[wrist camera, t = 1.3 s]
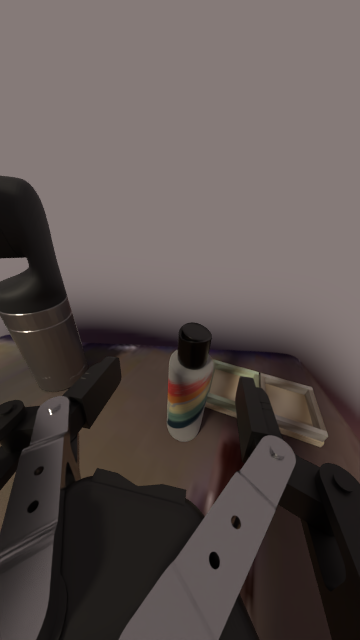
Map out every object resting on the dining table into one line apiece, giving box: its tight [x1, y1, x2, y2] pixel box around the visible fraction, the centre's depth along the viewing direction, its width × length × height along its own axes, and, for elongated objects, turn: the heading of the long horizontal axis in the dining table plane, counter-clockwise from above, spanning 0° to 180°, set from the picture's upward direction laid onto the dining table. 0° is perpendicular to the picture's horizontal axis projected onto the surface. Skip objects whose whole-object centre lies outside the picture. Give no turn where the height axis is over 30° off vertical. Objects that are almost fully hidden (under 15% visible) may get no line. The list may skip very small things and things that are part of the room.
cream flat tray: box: [205, 360, 328, 447], centre depth 35 cm, size 20×10×3 cm, turn 71°
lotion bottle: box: [167, 323, 214, 442], centre depth 26 cm, size 6×6×20 cm
